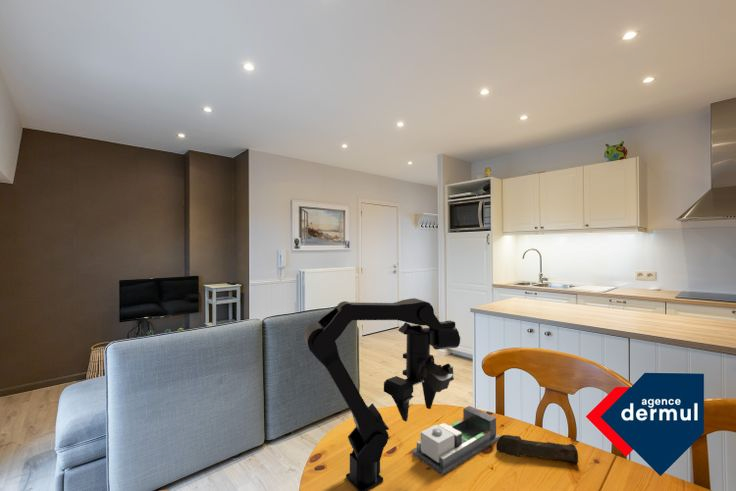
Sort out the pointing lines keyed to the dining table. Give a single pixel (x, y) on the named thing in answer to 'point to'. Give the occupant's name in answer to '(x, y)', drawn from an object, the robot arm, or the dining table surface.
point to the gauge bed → (464, 440)
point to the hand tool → (536, 448)
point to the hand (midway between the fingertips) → (417, 414)
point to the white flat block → (456, 434)
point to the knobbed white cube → (436, 442)
